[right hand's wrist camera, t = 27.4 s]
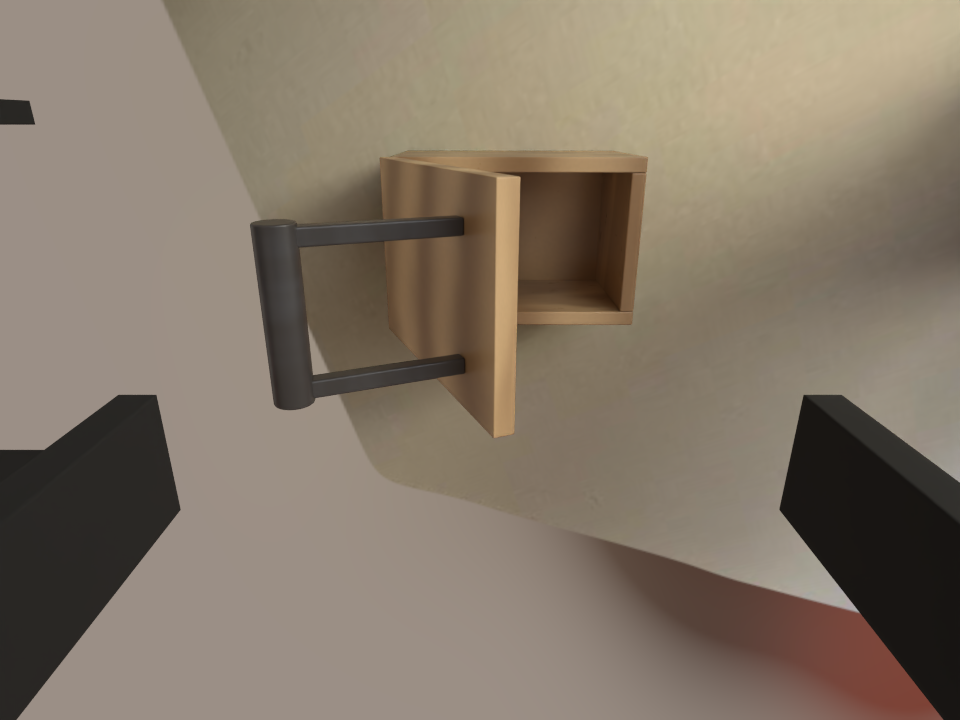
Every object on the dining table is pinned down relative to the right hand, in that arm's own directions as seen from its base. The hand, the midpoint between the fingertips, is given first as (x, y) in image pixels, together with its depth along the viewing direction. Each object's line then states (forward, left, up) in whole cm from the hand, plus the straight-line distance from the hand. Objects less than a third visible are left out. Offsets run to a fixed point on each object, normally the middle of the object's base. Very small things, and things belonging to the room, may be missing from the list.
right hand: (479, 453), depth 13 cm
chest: (0, +2, -32) cm, 32 cm away
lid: (0, -2, -16) cm, 16 cm away
